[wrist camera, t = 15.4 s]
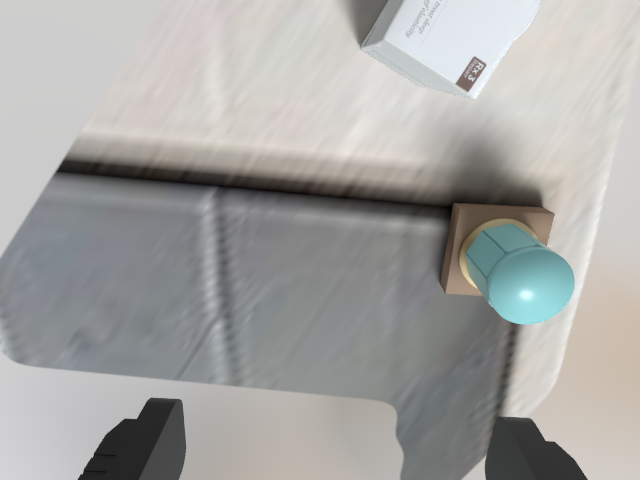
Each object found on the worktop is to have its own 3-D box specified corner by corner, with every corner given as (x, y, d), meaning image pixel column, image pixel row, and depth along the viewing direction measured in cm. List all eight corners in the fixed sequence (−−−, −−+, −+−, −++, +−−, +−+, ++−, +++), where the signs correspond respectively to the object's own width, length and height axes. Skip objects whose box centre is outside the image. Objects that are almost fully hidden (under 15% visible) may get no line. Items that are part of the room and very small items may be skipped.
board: (453, 202, 38) (475, 223, 32) (543, 207, 38) (581, 229, 32) (440, 283, 40) (458, 316, 35) (523, 288, 40) (555, 321, 35)
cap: (471, 294, 38) (496, 331, 32) (460, 234, 36) (485, 262, 30) (539, 279, 37) (576, 314, 32) (532, 216, 35) (571, 241, 30)
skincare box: (415, -54, 31) (487, -167, 17) (482, -8, 32) (602, -78, 18) (355, 54, 34) (375, 34, 20) (418, 94, 34) (480, 102, 21)
